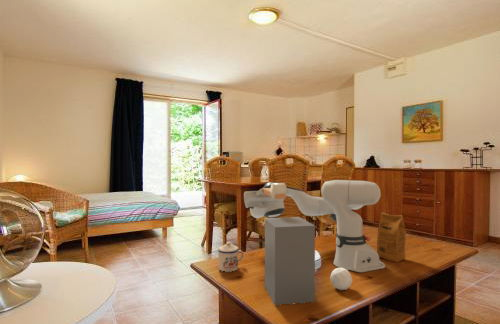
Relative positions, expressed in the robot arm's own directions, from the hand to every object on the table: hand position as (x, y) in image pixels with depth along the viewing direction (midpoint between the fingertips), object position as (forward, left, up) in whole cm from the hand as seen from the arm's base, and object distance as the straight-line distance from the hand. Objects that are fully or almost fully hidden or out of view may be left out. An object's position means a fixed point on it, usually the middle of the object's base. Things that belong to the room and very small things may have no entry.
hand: (267, 190), depth 133 cm
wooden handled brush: (0, +8, -1) cm, 8 cm away
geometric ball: (-21, +29, -35) cm, 50 cm away
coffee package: (-62, +2, -35) cm, 71 cm away
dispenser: (0, +30, -34) cm, 46 cm away
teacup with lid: (+17, +1, -35) cm, 39 cm away
